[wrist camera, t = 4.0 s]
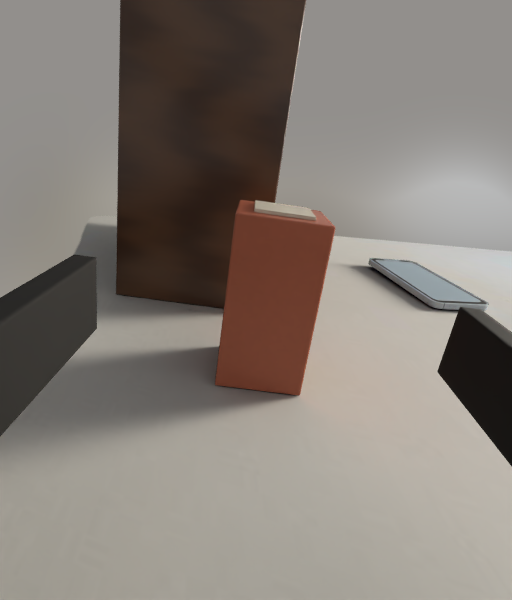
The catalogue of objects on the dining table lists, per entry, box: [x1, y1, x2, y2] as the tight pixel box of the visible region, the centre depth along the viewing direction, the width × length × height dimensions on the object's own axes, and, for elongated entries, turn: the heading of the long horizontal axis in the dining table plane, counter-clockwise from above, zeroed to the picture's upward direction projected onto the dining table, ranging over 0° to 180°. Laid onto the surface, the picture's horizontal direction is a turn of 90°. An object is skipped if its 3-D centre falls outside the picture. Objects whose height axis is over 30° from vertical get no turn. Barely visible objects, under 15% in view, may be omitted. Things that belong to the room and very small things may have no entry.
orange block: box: [215, 200, 335, 395], centre depth 24 cm, size 5×5×10 cm
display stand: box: [116, 0, 306, 308], centre depth 41 cm, size 12×26×28 cm, turn 0°
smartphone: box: [368, 258, 489, 311], centre depth 49 cm, size 7×1×15 cm
